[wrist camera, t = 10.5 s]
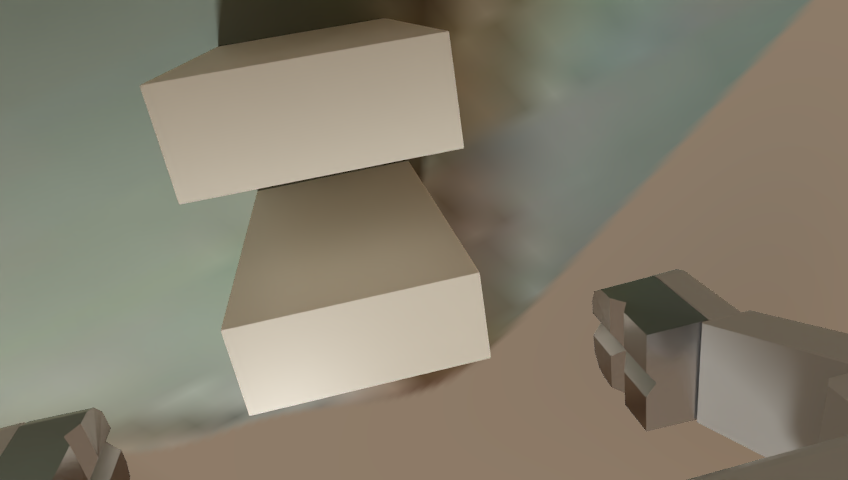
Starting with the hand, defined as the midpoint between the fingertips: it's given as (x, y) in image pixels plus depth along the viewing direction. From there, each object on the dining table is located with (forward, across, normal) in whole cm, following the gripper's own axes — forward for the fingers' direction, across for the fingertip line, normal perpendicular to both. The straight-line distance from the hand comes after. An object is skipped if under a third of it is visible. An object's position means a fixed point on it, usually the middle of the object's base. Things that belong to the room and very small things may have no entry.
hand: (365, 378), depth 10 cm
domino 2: (+11, 0, +1) cm, 11 cm away
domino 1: (+11, 0, -4) cm, 12 cm away
